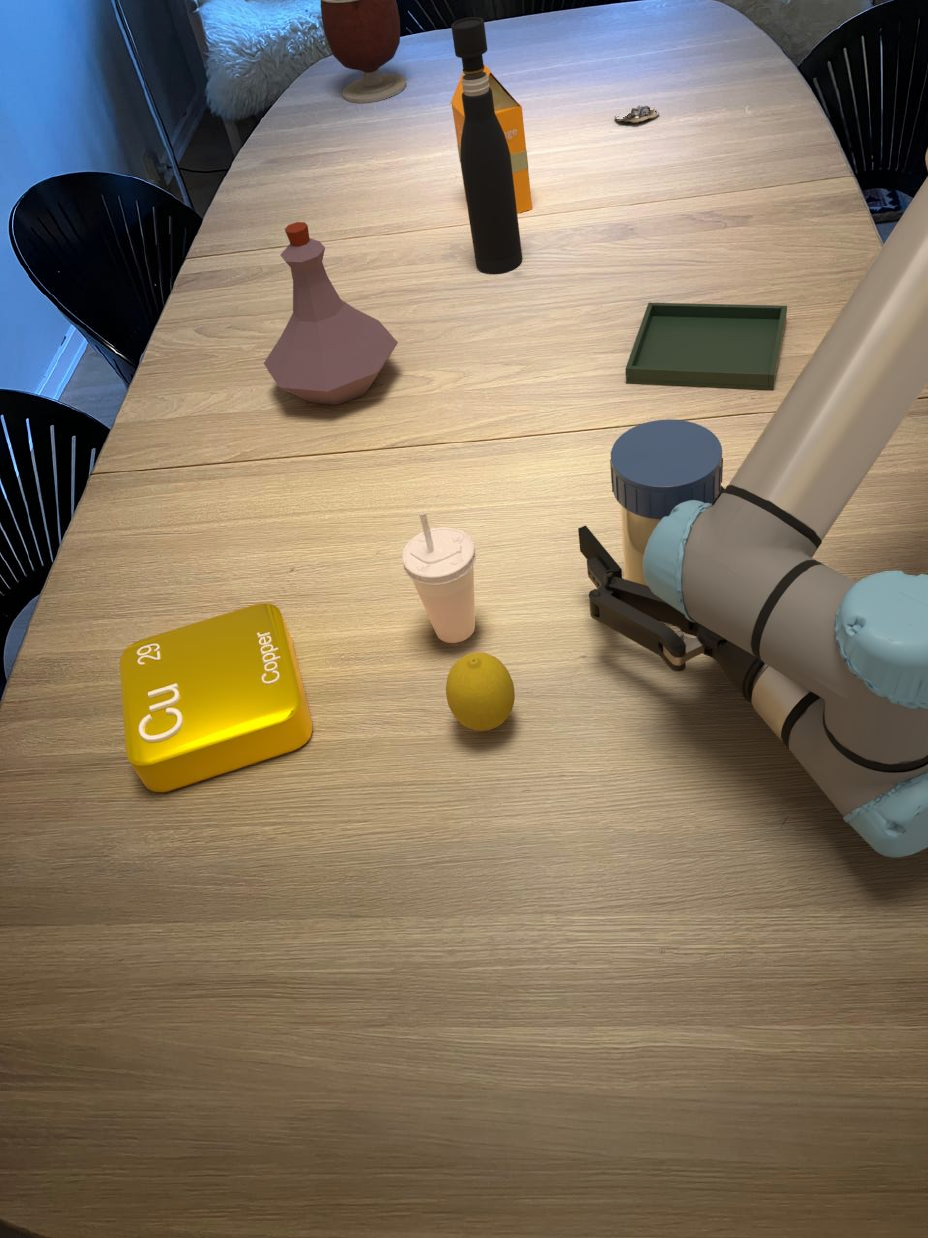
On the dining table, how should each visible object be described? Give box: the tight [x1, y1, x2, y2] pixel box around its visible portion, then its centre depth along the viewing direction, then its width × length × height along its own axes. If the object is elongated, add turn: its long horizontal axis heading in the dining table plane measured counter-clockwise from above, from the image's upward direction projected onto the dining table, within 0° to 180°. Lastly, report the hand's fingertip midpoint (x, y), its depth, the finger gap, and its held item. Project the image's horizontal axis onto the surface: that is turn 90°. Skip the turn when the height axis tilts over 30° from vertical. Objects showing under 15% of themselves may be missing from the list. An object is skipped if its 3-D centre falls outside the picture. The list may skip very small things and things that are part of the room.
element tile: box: [119, 602, 313, 793], centre depth 90 cm, size 15×15×5 cm
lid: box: [609, 418, 724, 519], centre depth 84 cm, size 9×9×3 cm
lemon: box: [445, 652, 516, 732], centre depth 84 cm, size 6×6×8 cm
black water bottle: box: [450, 16, 523, 275], centre depth 131 cm, size 6×6×30 cm
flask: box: [263, 221, 399, 406], centre depth 119 cm, size 16×16×20 cm
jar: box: [620, 502, 713, 586], centre depth 89 cm, size 8×8×15 cm
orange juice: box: [450, 64, 533, 215], centre depth 147 cm, size 8×9×20 cm
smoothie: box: [401, 510, 478, 644], centre depth 90 cm, size 6×6×14 cm
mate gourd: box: [320, 0, 408, 104], centre depth 188 cm, size 16×14×20 cm
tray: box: [625, 302, 788, 391], centre depth 119 cm, size 16×14×2 cm
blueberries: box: [614, 105, 660, 124], centre depth 168 cm, size 7×8×2 cm
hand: (645, 512), depth 92 cm, fingers open, 12 cm apart
